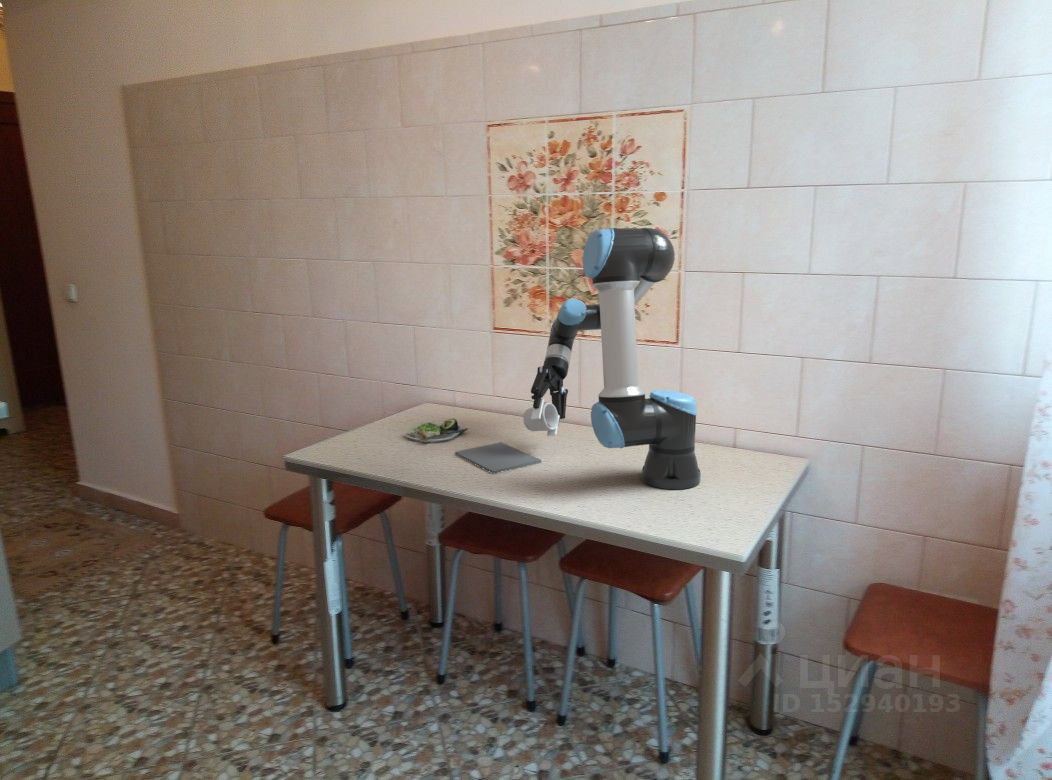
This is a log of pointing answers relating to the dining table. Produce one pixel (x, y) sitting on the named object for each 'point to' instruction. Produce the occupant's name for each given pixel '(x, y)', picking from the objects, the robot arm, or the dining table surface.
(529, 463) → the mat
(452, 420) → the avocado toast plate
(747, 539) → the dining table surface
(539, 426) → the cup
